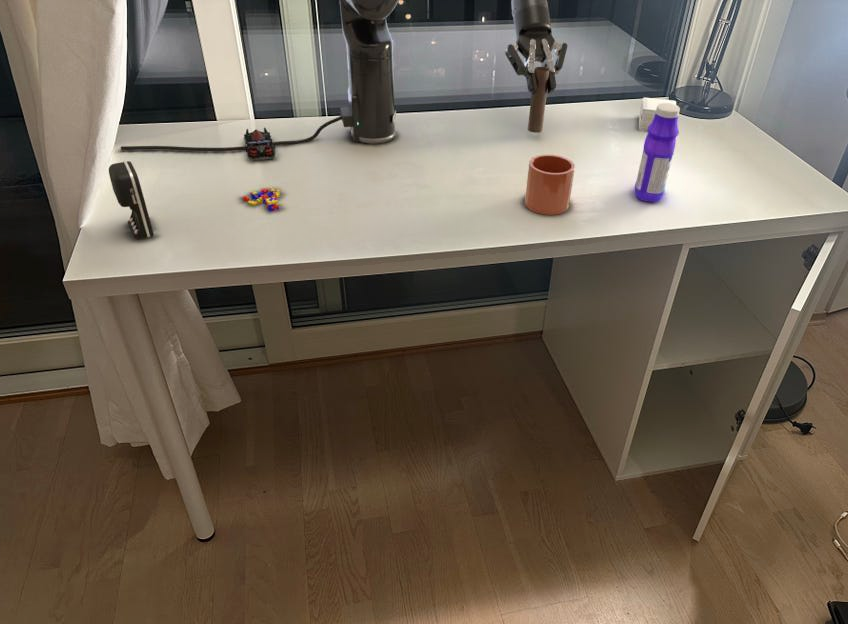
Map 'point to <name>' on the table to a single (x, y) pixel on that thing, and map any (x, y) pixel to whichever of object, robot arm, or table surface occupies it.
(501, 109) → the table surface
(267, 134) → the toy car
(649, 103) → the small box
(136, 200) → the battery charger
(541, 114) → the dowel
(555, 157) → the holder
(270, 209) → the building blocks
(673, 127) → the bottle
